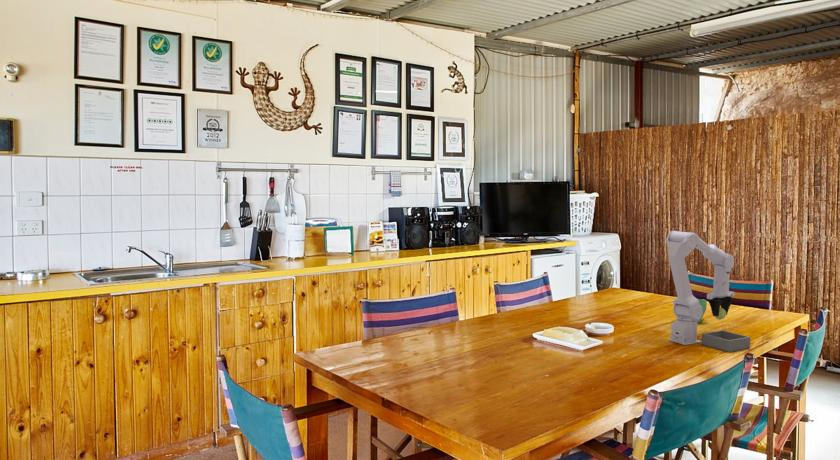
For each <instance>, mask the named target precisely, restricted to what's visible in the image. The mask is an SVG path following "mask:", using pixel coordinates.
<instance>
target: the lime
mask: <svg viewBox="0 0 840 460" xmlns="http://www.w3.org/2000/svg"><path fill="white" fill-rule="evenodd" d="M726 316H727V315H726V311H725V310H724V309H723V308H721V307H720V309H719V315H718V316H713V317H714V318H715V319H717V320H723V319H725V318H726Z"/></svg>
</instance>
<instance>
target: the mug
mask: <svg viewBox="0 0 840 460" xmlns="http://www.w3.org/2000/svg"><path fill="white" fill-rule="evenodd" d="M697 299H698V300H699V304H700V305H701V307H702V309H703V314H702V317H701V318H700V319H699V321H697V325H699V324H700V323H701V321H702V319H703V317H704V314H705V312H706V310H707V304H708V300H707V299H704V298H703V299H701V298H697Z"/></svg>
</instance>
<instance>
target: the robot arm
mask: <svg viewBox="0 0 840 460" xmlns="http://www.w3.org/2000/svg"><path fill="white" fill-rule="evenodd" d="M665 239H666V240H665V241H666V247H667V251H668V255H667V256H668V261H669V262H668V263H669V266H670V270H671V274H672V275H671V276H672V279H673V283H674V287H675V291H676V295H677V297H675V298H674V299H673V300H672V303H673V308H672V310H673V313H674V315H675V318H676V320H675V321H673V322H672V323H671V326H670V328H671V329H670V330H671V331H670V338H669V339H668V341H670V342H673V343H677V344H680V345H684V346H690V345H695V344H701V340H699V339H697V337H698V324H697V321H699V319H700V318H701V317H702V314H703V309H702V307H701V305H700V304H699V300H698V299H699V298H697V297H696V296H694V295H693V291H692V286H691V283H690V278H689V274H688V273H689V272H688V269H687V265H686V259H685V258H686V257H688V256H689V255H690V254H691V252H693V250H694V249H696V250H698V251H700V252H702V257H704V258H706V259H707V260H709V261H710V262H711V264H712V266H714V267H713V269H714V271H713V288H712V289H713V290H712V291H711V292H710V293H709V292H708V293H707V294H706V301H707V303H709V306H710V309H711V314H712V316H713V317H714V316H718V315H719V309H720V308H723V309H724V310H725V311H726V316H727V315H728V313H729V310H730V306H731V305H732V304H733V302H734V299H735V298H734V297H735V291H730V278H731V277H730V276H731V272H732V267H733V265H734V263H735V260H734V257H733V255H732V254H730V253H727V252H724V250H723V249H720V248H718V247H717V244H716V243H715V244H714V243H711V244H708V243H707V242H705V241H704V240H703V239H701V237H699V235H698V234H697V233H695V232H691V231H690V232H688V231H687V232H686V231H677V230H672V231H670V232H669V233H668V235H667V236H666V238H665ZM702 318H703V317H702Z"/></svg>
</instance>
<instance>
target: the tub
mask: <svg viewBox="0 0 840 460" xmlns="http://www.w3.org/2000/svg"><path fill="white" fill-rule="evenodd" d="M700 341H701V343H700V344H701V346H703V347H707V348H711V349H713V350H718V351H722V352H726V353H728V354H729V353H733V352H734V353H735V352H739V351H745V350H746V351H747V350H751V336H747V335H743V334H738V333H734V332H731V331H727V330H722V329H721V330H714V331H710V332H709V331H708V332H704V333H701V339H700Z"/></svg>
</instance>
